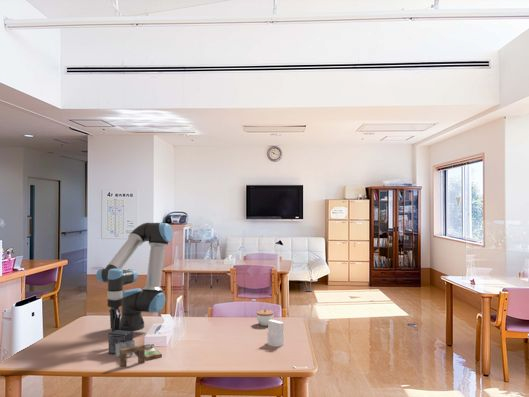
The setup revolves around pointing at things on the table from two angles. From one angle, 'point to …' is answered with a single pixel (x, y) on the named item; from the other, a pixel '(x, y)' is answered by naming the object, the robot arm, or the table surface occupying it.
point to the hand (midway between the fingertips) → (114, 343)
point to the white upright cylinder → (275, 333)
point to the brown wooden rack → (126, 346)
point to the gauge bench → (139, 354)
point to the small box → (118, 338)
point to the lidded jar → (264, 316)
